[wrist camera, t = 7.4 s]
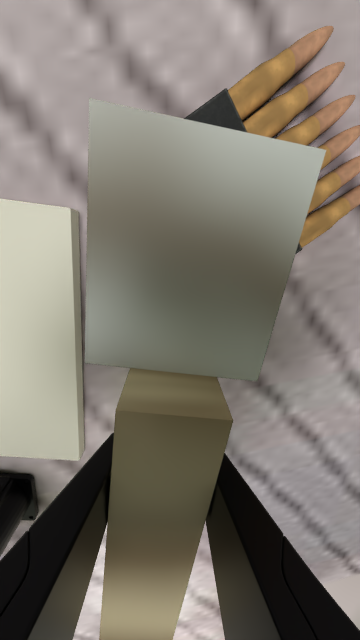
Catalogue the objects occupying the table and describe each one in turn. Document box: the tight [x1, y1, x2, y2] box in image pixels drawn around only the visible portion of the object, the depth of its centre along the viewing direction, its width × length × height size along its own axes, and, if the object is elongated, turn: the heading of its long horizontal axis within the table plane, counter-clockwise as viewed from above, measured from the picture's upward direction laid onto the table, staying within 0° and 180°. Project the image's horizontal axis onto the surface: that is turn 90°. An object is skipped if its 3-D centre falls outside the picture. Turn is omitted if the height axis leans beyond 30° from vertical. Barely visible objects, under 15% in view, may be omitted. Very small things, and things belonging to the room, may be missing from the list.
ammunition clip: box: [184, 26, 360, 254], centre depth 13 cm, size 11×2×12 cm
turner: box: [85, 98, 326, 640], centre depth 7 cm, size 19×6×3 cm, turn 171°
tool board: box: [0, 199, 84, 461], centre depth 17 cm, size 22×9×1 cm, turn 173°
